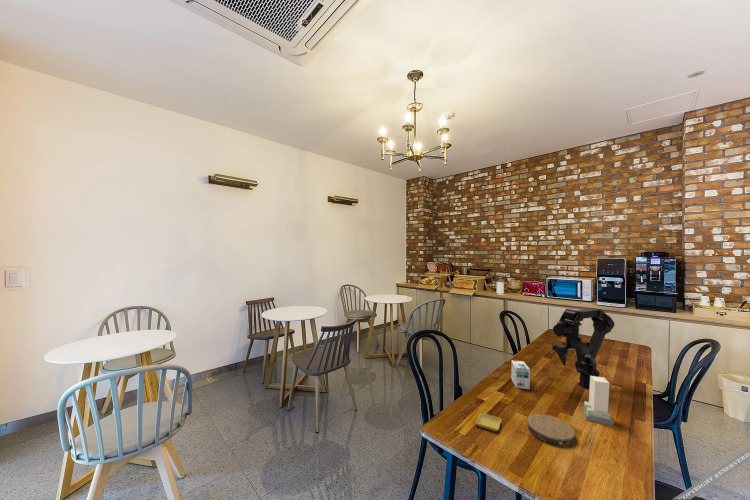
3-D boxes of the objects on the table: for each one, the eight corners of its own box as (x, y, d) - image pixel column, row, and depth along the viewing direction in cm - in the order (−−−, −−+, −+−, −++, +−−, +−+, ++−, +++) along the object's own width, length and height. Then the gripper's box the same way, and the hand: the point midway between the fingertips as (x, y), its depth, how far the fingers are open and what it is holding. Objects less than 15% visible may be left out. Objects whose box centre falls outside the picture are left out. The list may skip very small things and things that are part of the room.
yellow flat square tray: (498, 435, 112) (498, 429, 112) (475, 427, 117) (475, 422, 117) (501, 423, 119) (501, 418, 119) (480, 416, 124) (480, 412, 124)
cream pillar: (588, 403, 126) (590, 375, 126) (602, 405, 125) (603, 377, 124) (593, 410, 122) (595, 381, 121) (607, 412, 120) (609, 383, 120)
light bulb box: (530, 389, 148) (530, 368, 148) (516, 388, 149) (516, 367, 149) (523, 380, 158) (524, 360, 158) (510, 379, 159) (510, 359, 159)
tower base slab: (583, 411, 130) (583, 405, 130) (608, 417, 125) (608, 411, 125) (585, 421, 122) (586, 415, 122) (613, 428, 117) (613, 422, 117)
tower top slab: (584, 406, 129) (584, 401, 129) (605, 411, 126) (605, 405, 126) (588, 415, 122) (588, 409, 122) (610, 420, 119) (610, 414, 119)
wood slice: (520, 420, 121) (520, 413, 121) (558, 421, 121) (558, 414, 121) (541, 446, 105) (541, 438, 105) (585, 448, 105) (585, 439, 105)
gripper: (570, 340, 138) (569, 372, 138) (602, 338, 142) (602, 369, 142) (551, 333, 149) (551, 363, 149) (582, 331, 153) (581, 361, 153)
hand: (571, 364), depth 148 cm, fingers open, 9 cm apart
